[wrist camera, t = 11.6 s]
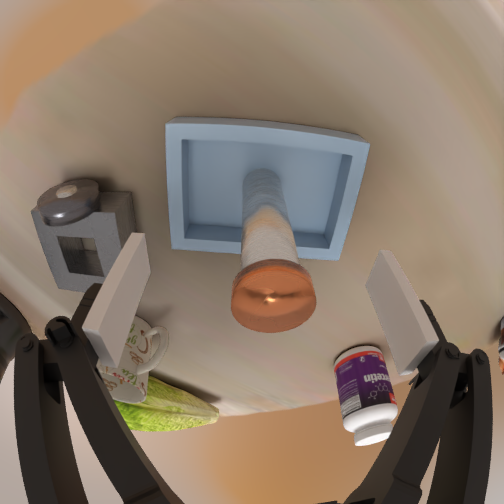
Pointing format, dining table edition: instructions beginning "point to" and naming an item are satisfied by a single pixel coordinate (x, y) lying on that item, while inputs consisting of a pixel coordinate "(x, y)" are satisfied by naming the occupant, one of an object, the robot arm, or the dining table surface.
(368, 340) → the dining table surface
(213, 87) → the dining table surface
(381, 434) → the pill bottle
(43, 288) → the dining table surface
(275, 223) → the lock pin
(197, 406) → the lettuce
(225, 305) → the dining table surface
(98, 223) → the block
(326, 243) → the tray
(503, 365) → the lucky cat figurine
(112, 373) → the mug
